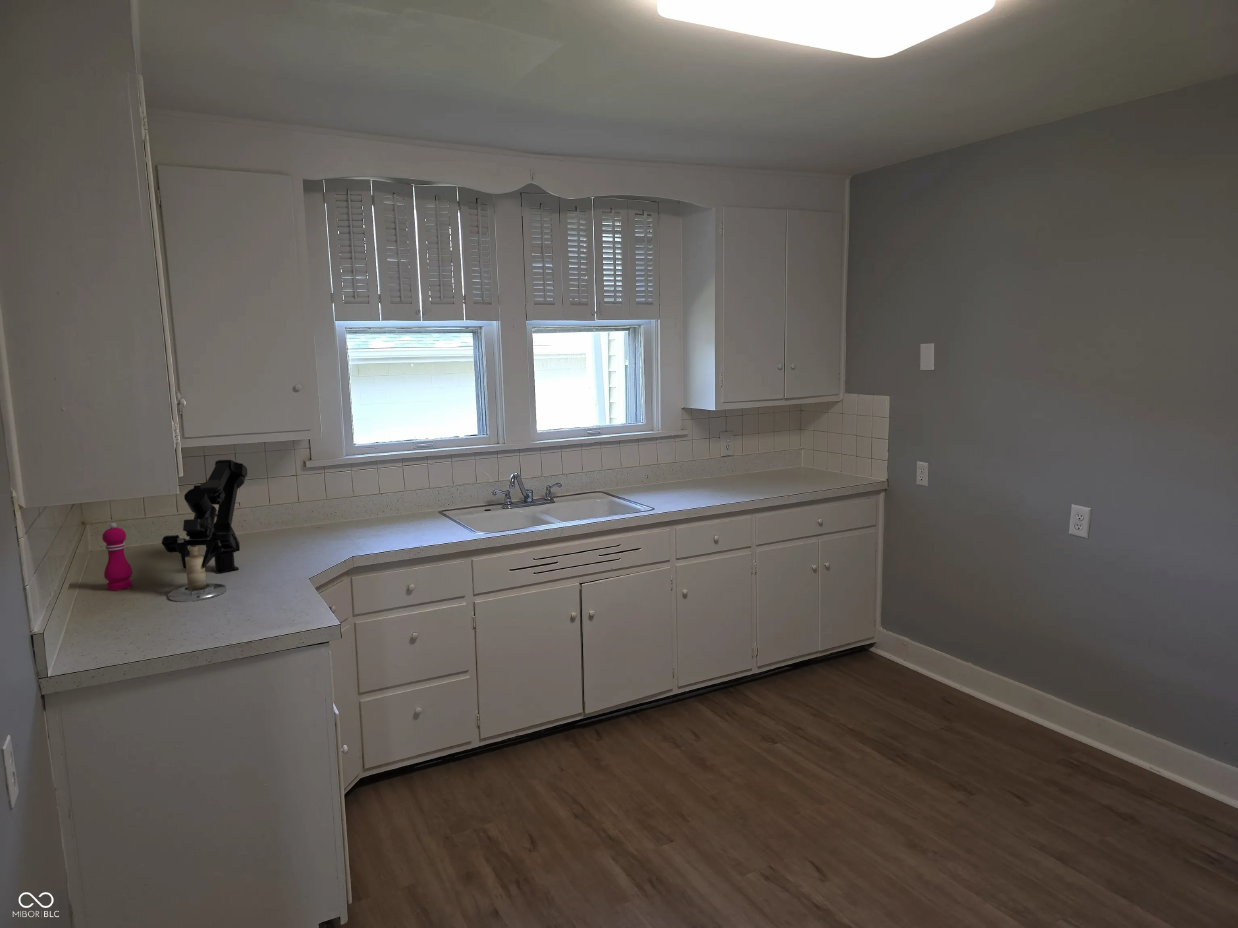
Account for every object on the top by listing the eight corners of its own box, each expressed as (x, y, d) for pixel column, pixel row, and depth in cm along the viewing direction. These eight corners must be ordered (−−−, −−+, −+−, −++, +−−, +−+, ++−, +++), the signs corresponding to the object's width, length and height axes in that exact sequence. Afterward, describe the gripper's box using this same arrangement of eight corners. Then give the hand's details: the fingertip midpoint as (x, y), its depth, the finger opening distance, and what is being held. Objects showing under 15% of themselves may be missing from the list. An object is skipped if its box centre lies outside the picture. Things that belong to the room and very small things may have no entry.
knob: (184, 589, 229) (180, 547, 227) (198, 584, 233) (194, 543, 231) (196, 591, 227) (192, 548, 225) (210, 586, 231) (206, 544, 229)
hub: (168, 591, 233) (168, 584, 233) (224, 583, 240) (224, 576, 240) (168, 605, 220) (167, 598, 220) (227, 596, 227) (227, 589, 227)
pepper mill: (109, 585, 239) (101, 521, 236) (136, 582, 242) (129, 519, 239) (103, 592, 233) (95, 526, 230) (131, 589, 235) (124, 524, 232)
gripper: (160, 508, 229) (148, 555, 220) (228, 506, 232) (219, 551, 223) (173, 529, 238) (162, 574, 229) (239, 526, 241) (231, 570, 232)
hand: (193, 567), depth 228 cm, fingers closed on knob, 5 cm apart
